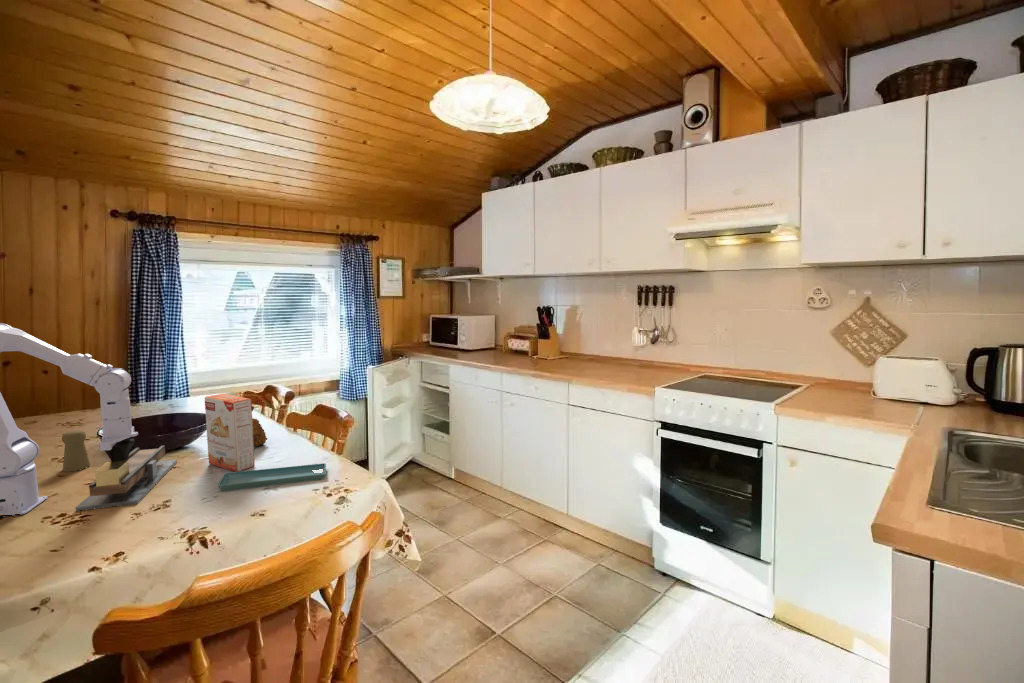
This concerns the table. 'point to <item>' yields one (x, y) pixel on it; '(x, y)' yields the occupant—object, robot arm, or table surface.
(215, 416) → the cracker box
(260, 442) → the stuffed squirrel
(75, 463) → the olive green shaker
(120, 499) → the pivot stand
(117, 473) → the brass block
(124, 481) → the walnut beam
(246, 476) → the rectangular tray
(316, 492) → the table surface
